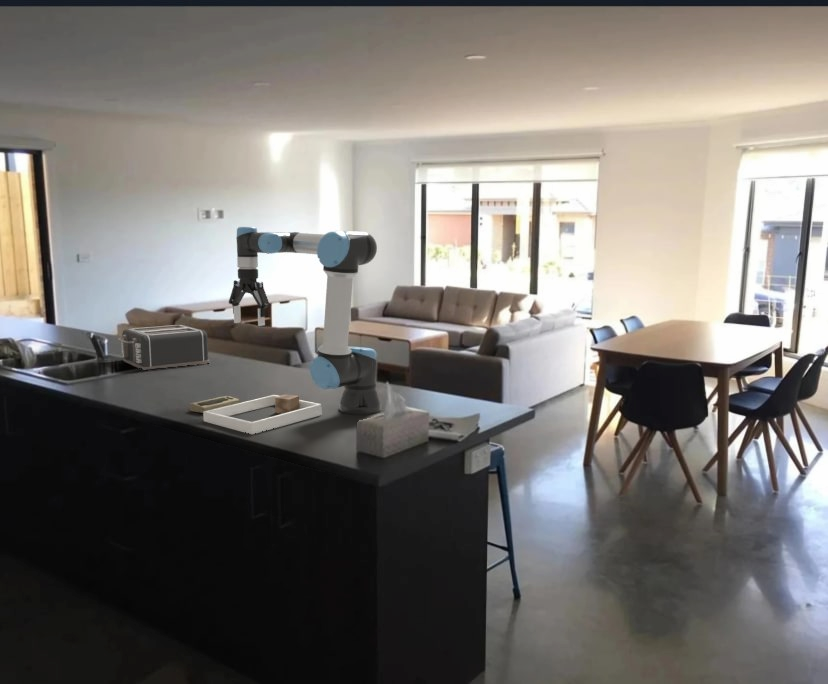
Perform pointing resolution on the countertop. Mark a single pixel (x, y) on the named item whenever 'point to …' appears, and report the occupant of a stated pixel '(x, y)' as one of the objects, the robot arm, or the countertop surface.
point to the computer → (213, 404)
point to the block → (286, 403)
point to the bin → (223, 419)
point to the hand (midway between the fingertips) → (249, 324)
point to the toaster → (164, 346)
